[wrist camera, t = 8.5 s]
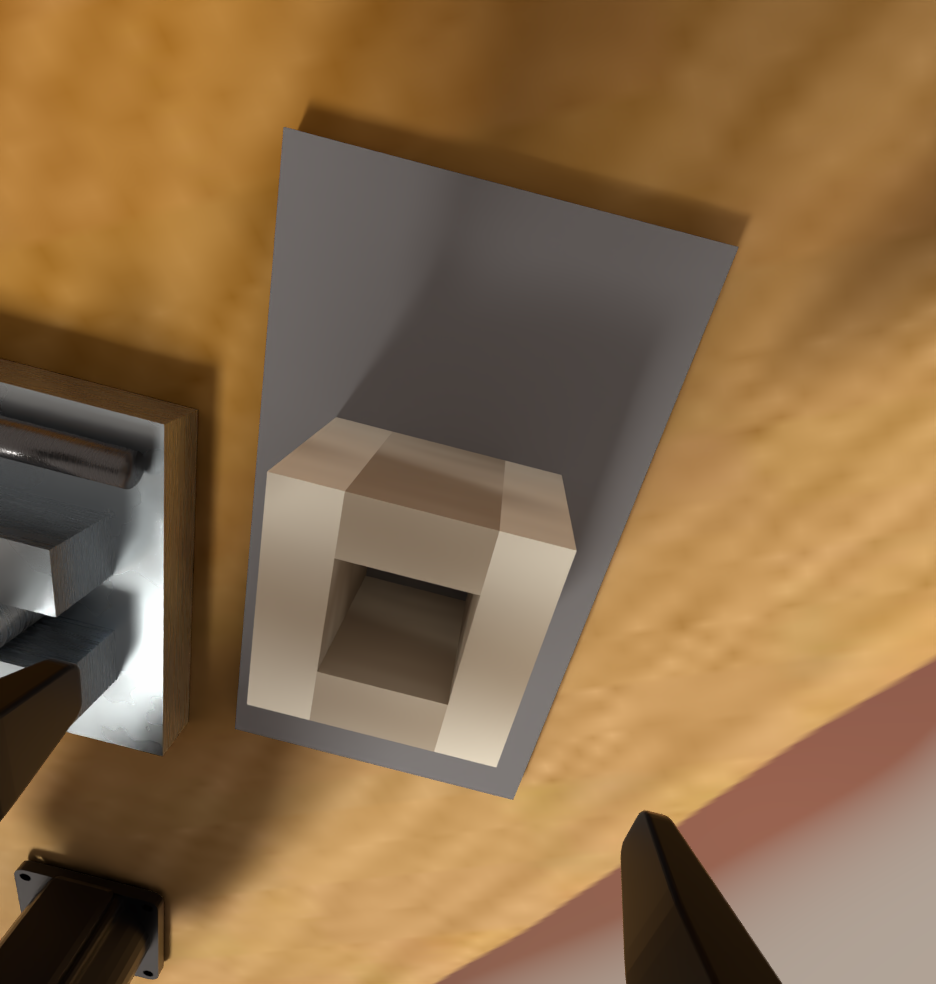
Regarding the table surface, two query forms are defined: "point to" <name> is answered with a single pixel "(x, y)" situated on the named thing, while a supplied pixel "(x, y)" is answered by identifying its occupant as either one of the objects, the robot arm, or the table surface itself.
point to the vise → (99, 548)
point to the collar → (405, 588)
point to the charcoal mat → (473, 370)
